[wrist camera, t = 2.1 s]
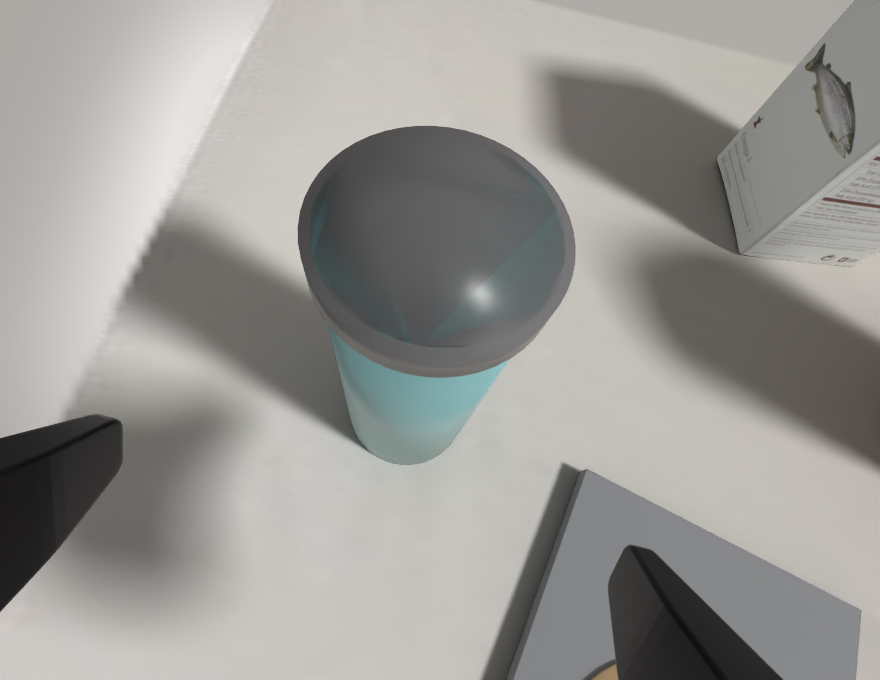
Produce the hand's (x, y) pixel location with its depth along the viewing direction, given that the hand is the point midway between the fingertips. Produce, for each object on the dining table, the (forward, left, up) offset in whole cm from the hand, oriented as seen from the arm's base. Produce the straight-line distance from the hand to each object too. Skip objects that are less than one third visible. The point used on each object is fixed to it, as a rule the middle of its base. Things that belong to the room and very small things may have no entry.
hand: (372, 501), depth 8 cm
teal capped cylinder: (+5, +1, -12) cm, 13 cm away
